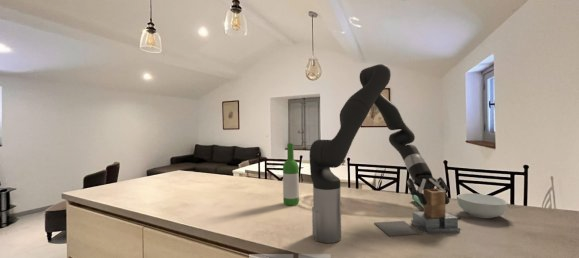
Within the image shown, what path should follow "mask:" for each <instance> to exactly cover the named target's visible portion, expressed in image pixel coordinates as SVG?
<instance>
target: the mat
mask: <svg viewBox="0 0 579 258" xmlns="http://www.w3.org/2000/svg"><path fill="white" fill-rule="evenodd" d="M374 225H375V226H376V225H377V226H376V227H378V228H379V230H381V231H382V230H383V232H384V234H386V235H387V236H388V237H399V236H401V235H404V236H417V235H418V236H419V234H421V235H423V232H421V230H418V228H417V229H416V228H415V226H412V225H411V224H410V223H407V222H406V221H404V220H399V221H398V220H397V221H396V220H395V221H380V222H379V221H377V222H374Z"/></svg>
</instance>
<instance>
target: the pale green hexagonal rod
mask: <svg viewBox="0 0 579 258" xmlns="http://www.w3.org/2000/svg"><path fill="white" fill-rule="evenodd" d="M422 194H423V192H422ZM411 199H412V200H413V201H414V202H416V203H417V204H419V205H420V206H421V208H423V209H424V205H423V204H421V202H420V200H419V198H418V196H416V195H411Z"/></svg>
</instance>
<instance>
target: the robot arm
mask: <svg viewBox="0 0 579 258" xmlns="http://www.w3.org/2000/svg"><path fill="white" fill-rule="evenodd" d="M391 73H392V72H391V69H390V67H389V66H388V65H387V64H384V63H380V64H375V65H372V66H369V67H366V68H363V69H362V70H361V71H360V73H359V82H360V84H361V86H362V88H359V90H357V91H356V92H355V93H354V94H352V95H351V96H350V97H349V98H348V99H347V100H346V101H345V103H344V104H343V107H342V108H341V110H340V111H339V112H340V113H339V124H340V127H339V130H338V132H337V134H336V135H335V136H334V137H333V138H332V139H316V140H314V141H313V142H312V143H311V145H310V148H309V167H310V168H309V171H310V178H311V181H312V186H313V187H312V192H313V193H312V194H313V197H312V202H313V207H311V211H312V212H311V218H312V219H311V220H312V221H311V222H312V236H313V238H314V240H315V242H321V243H325V244H326V243H328V244H331V243H337V242H339V241H341V239H342V199H341V197H342V195H341V193H342V192H341V189H342V188H341V180H340V177H338V176H336V175H335V174H334V173H333V172H332V171H331V168H334V169H335V168H338V167H340V166H341V165H343V162H344V161H345V160H346V158H347V155H348V154H349V150H350V148H351V146H352V144H353V141H354V140H355V137H356V135H357V133H358V132H359V130H360V128H361V126H362V124H363V123H364V121H365V120H366V118H367V117H368V114H369V113H370V111H371V109H372V107H373V105H374V106H376V108H377V109H378V111H379V113H380V115H381V116H382V119H383V121H384V123H385V125H386V127H387V129H388V130H390V131H395V132H393V133H391V134H389V137H388V141H389V143H390V145H391V146H392V147H393V148H394V149H395V150H396V151H397V152H398V153H399V154H400V156H401V158H402V160H403V162H404V165H405V167H406V168H405V169H407V172H408V174H409V176H410V177H411V178H408V179H407V181H406V186H407V188H408V190H409V193H410V195H411V196H412V195H416V196H418V198H419V200H420V202H421V204H423V205H426V204H427V200H426V198H425V196H424V194H422V193H423V189H438V190H441V191H444V192H445V205H448V204H450V201H451V200H450V198H449V196H448V192H449V191H450V188H449V187H448V185H447V184H446V182H445V181H444V179H443V178H442V177H440V176H439V178H434V177H433V174H432V171H431V168H429V166H428V164H427V162H426V161H425V158H423V156H422V155H421V153H420V151H419V150H418V148H417V146H415V145H414V144H412V143H413V142H415V138H416V137H415V133H414V132H413V131H412V130H411V129H410V127H408V126H407V124H406V123H405V122H404V120H403V117H402V115H401V113H400V110H399V109H398V108H397V106H396V105H395V104H394V103H393V102H391V101H390V100H389V99H388V98H387V97H385V96H384V95H383V94H382V92H383V91H384V90H385V89H386V87H387V86H389V85H388V84H389V83H390V80H391ZM416 187H417V189H416Z"/></svg>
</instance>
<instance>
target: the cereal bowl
mask: <svg viewBox="0 0 579 258" xmlns="http://www.w3.org/2000/svg"><path fill="white" fill-rule="evenodd" d="M456 198H457V199H456V200H457V205H458V206H459V207H460V209H462V210H463V211H465V212H467V213H468V214H470V215H471V216H474V217H477V218H482V219H494V218H496V217H497V218H498V217H500V216H503V215H504V214H506V212H507V211H508V208H509V202H508V201H507V200H506V199H504V198H501V197H497V196H494V195H488V194H483V193H481V194H480V193H470V192H469V193H468V192H466V193H465V192H464V193H460V194H458V195H457V196H456Z"/></svg>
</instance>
